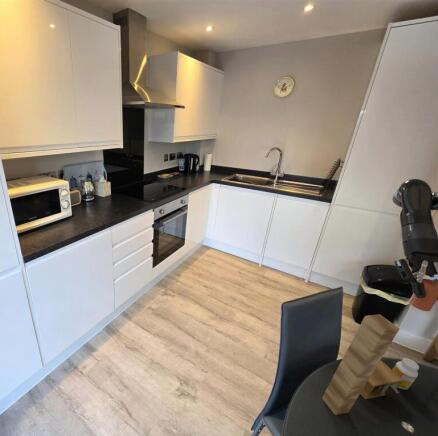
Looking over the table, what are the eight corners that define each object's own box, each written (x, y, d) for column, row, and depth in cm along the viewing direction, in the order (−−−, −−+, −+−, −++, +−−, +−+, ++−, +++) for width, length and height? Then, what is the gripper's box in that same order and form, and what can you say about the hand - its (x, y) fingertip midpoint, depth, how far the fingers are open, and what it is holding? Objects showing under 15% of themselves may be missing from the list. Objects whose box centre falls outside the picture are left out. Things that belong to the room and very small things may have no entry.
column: (334, 395, 80) (379, 314, 67) (348, 412, 76) (400, 328, 62) (321, 398, 79) (364, 315, 66) (335, 415, 75) (384, 330, 61)
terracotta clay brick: (416, 300, 73) (429, 278, 70) (434, 310, 69) (449, 287, 66) (404, 301, 72) (417, 279, 69) (422, 312, 68) (437, 289, 65)
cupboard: (372, 373, 88) (381, 360, 86) (393, 393, 82) (403, 379, 79) (345, 378, 86) (353, 364, 83) (365, 399, 80) (374, 385, 77)
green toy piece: (390, 390, 82) (397, 381, 80) (400, 400, 79) (407, 390, 77) (379, 393, 81) (385, 383, 79) (389, 402, 78) (396, 392, 76)
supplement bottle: (385, 371, 89) (397, 353, 86) (405, 380, 87) (418, 361, 83) (390, 384, 85) (403, 365, 81) (410, 393, 83) (425, 373, 79)
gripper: (436, 248, 75) (449, 306, 69) (383, 241, 78) (390, 295, 72) (462, 241, 69) (479, 304, 62) (402, 233, 71) (412, 292, 65)
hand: (431, 299), depth 67 cm, fingers closed on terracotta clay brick, 4 cm apart
